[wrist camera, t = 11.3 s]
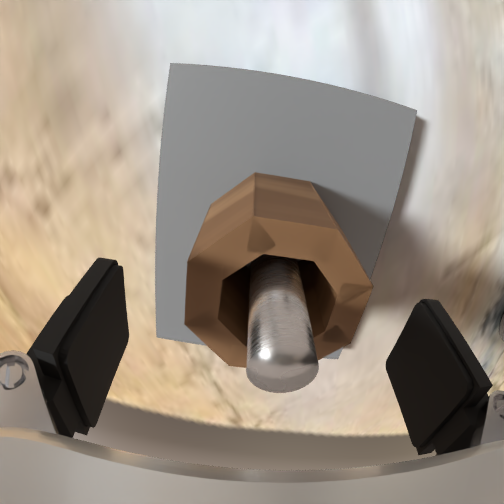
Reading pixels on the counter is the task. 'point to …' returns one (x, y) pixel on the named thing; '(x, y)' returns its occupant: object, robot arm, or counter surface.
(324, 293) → the walnut bead
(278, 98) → the rod board
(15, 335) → the counter surface
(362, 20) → the counter surface
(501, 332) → the travel mug
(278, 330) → the metal rod
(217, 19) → the counter surface
